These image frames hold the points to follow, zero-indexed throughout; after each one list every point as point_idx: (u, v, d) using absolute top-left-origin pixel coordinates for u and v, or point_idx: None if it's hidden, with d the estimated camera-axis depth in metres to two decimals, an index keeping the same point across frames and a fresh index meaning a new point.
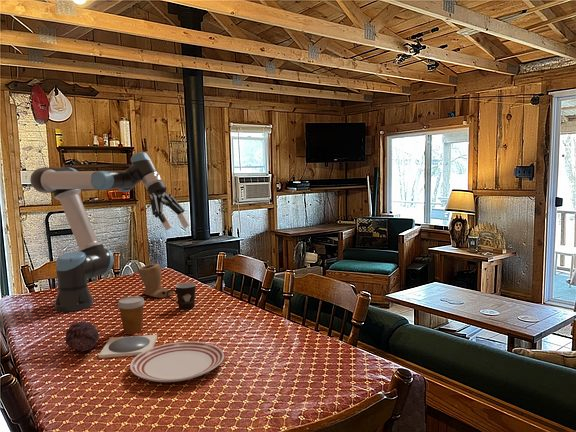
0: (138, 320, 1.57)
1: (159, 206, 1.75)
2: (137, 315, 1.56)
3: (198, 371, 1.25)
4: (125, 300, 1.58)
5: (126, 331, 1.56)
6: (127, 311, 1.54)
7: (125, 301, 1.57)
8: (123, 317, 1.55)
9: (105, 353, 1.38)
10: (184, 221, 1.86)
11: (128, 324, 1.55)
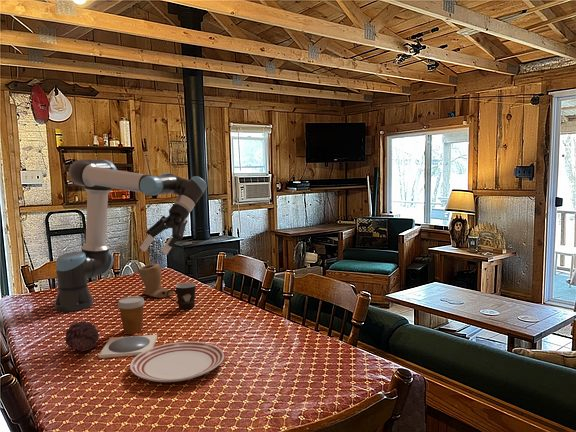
0: (138, 320, 1.57)
1: None
2: (137, 315, 1.56)
3: (198, 371, 1.25)
4: (125, 300, 1.58)
5: (126, 331, 1.56)
6: (127, 311, 1.54)
7: (125, 301, 1.57)
8: (123, 317, 1.55)
9: (105, 353, 1.38)
10: (146, 245, 1.70)
11: (128, 324, 1.55)
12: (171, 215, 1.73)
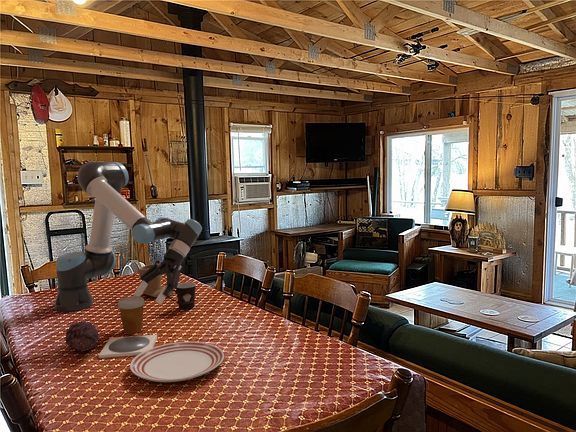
0: (138, 320, 1.57)
1: (172, 279, 1.64)
2: (137, 315, 1.56)
3: (198, 371, 1.25)
4: (125, 300, 1.58)
5: (126, 331, 1.56)
6: (127, 311, 1.54)
7: (125, 301, 1.57)
8: (123, 317, 1.55)
9: (105, 353, 1.38)
10: (140, 291, 1.67)
11: (128, 324, 1.55)
12: (165, 260, 1.70)
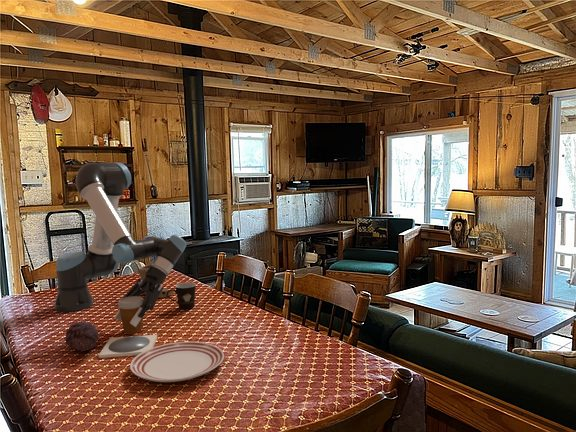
0: None
1: None
2: None
3: (198, 371, 1.25)
4: (125, 300, 1.58)
5: (126, 331, 1.56)
6: (127, 311, 1.54)
7: (125, 301, 1.57)
8: (123, 317, 1.55)
9: (105, 353, 1.38)
10: None
11: (128, 324, 1.55)
12: (147, 277, 1.66)
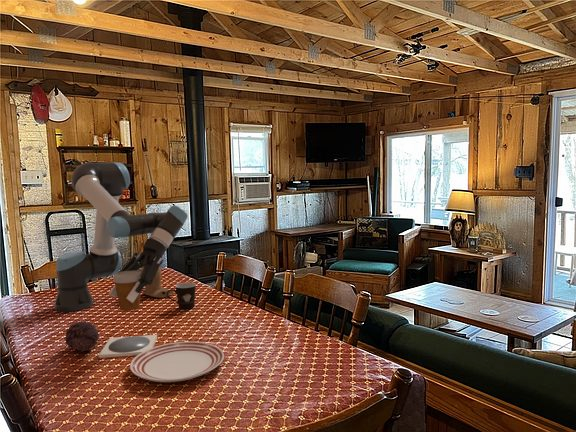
0: None
1: None
2: None
3: (198, 371, 1.25)
4: (121, 274, 1.44)
5: (122, 308, 1.42)
6: (124, 285, 1.40)
7: (121, 275, 1.43)
8: (119, 292, 1.41)
9: (105, 353, 1.38)
10: None
11: (125, 300, 1.41)
12: (145, 250, 1.52)
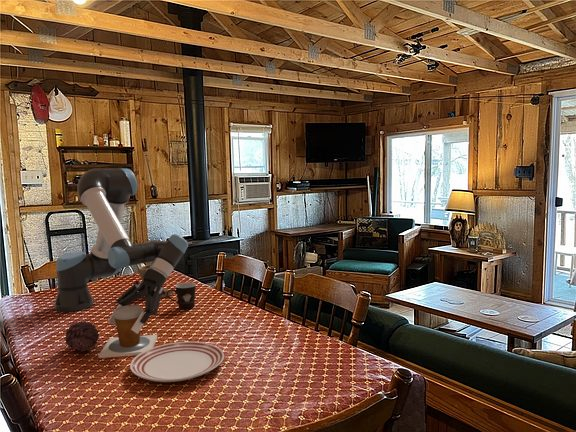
0: None
1: None
2: None
3: (198, 371, 1.25)
4: (121, 309, 1.44)
5: (122, 344, 1.42)
6: (124, 321, 1.40)
7: (121, 310, 1.43)
8: (119, 328, 1.41)
9: (105, 353, 1.38)
10: None
11: (125, 336, 1.41)
12: (145, 281, 1.51)
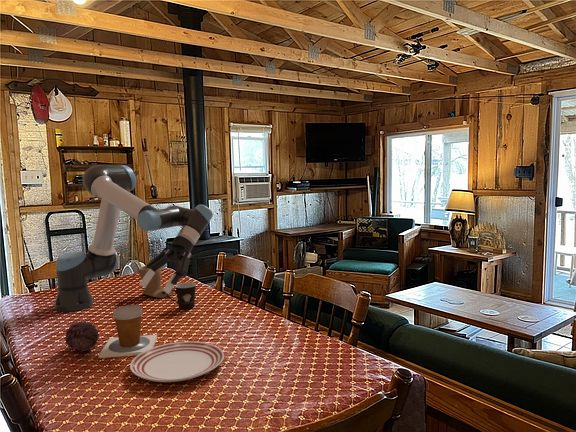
0: (136, 332, 1.42)
1: (181, 267, 1.53)
2: (135, 326, 1.42)
3: (198, 371, 1.25)
4: (121, 310, 1.44)
5: (122, 344, 1.42)
6: (124, 322, 1.40)
7: (121, 310, 1.43)
8: (119, 328, 1.41)
9: (105, 353, 1.38)
10: (147, 280, 1.57)
11: (125, 336, 1.41)
12: (174, 248, 1.60)
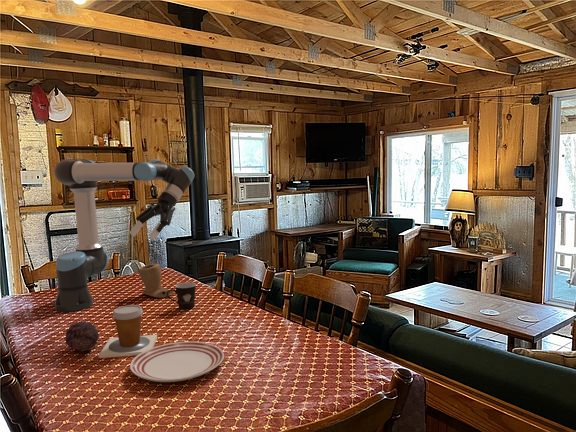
0: (136, 332, 1.42)
1: None
2: (135, 326, 1.42)
3: (198, 371, 1.25)
4: (121, 310, 1.44)
5: (122, 344, 1.42)
6: (124, 322, 1.40)
7: (121, 310, 1.43)
8: (119, 328, 1.41)
9: (105, 353, 1.38)
10: (136, 230, 1.79)
11: (125, 336, 1.41)
12: (160, 203, 1.82)
